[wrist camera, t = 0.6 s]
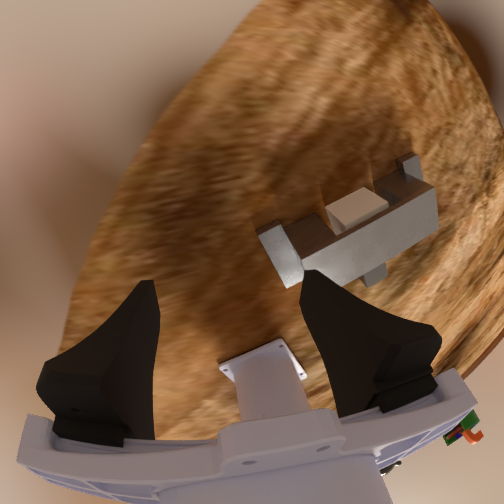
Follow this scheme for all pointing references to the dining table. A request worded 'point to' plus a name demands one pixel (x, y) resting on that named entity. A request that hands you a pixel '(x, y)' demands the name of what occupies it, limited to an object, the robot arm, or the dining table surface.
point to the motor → (464, 430)
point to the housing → (357, 231)
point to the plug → (358, 221)
